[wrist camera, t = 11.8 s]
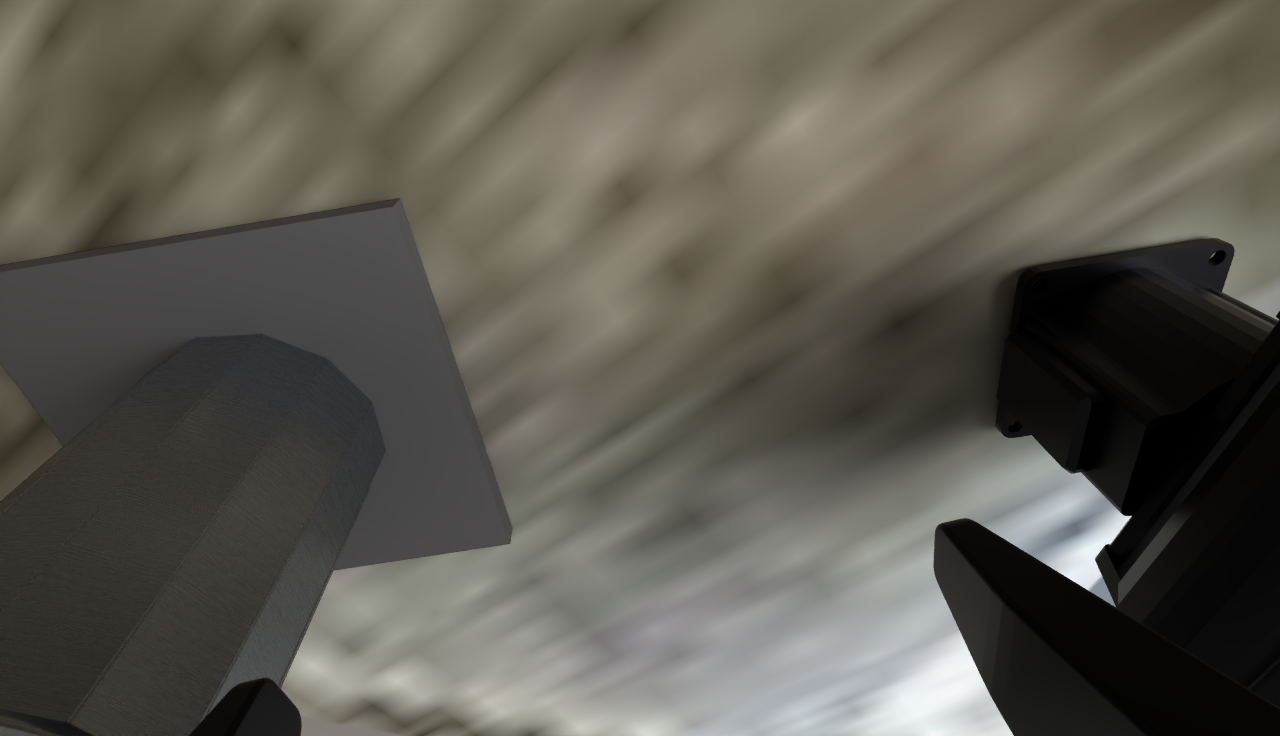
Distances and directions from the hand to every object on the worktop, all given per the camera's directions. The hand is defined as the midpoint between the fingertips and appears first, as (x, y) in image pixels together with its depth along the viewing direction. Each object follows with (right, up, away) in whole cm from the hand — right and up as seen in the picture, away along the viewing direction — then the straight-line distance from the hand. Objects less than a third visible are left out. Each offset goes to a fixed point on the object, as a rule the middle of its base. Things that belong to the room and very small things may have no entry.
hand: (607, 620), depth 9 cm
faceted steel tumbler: (-12, +1, +13) cm, 17 cm away
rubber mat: (-12, +2, +13) cm, 18 cm away
